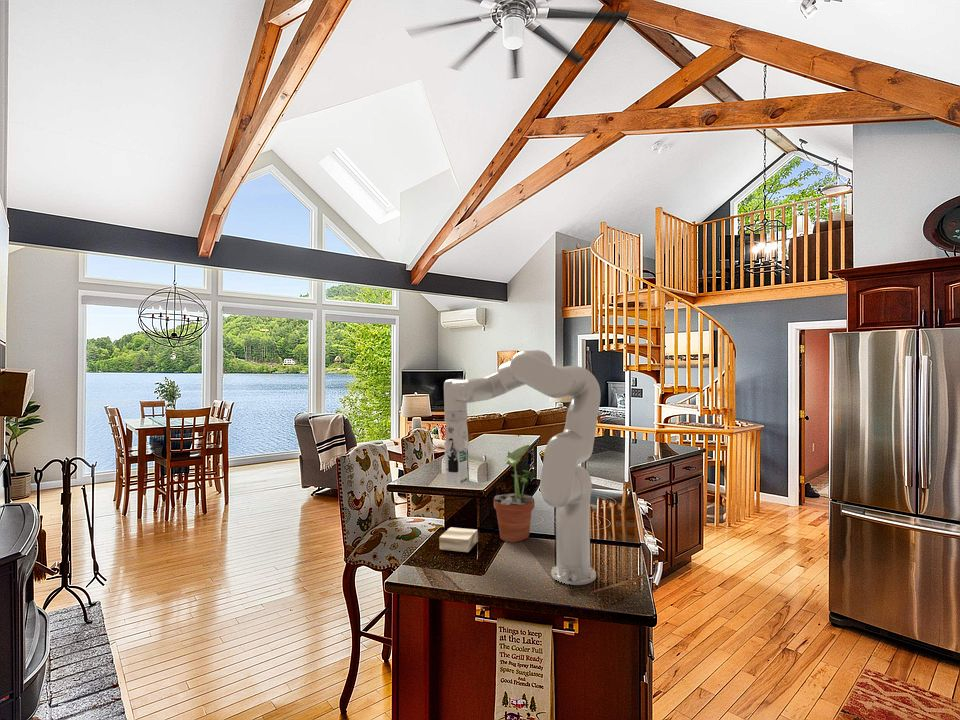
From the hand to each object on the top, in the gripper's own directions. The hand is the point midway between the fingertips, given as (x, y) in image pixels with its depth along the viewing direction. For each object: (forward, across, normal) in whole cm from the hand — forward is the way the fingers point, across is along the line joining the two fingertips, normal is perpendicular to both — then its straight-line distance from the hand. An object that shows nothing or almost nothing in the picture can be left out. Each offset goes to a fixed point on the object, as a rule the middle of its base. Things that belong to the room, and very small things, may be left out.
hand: (457, 469), depth 174 cm
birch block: (+26, 0, 0) cm, 26 cm away
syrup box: (+5, 0, 0) cm, 5 cm away
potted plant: (+26, +13, -16) cm, 33 cm away
